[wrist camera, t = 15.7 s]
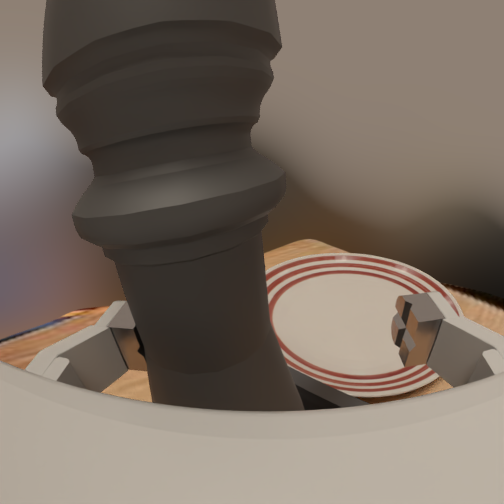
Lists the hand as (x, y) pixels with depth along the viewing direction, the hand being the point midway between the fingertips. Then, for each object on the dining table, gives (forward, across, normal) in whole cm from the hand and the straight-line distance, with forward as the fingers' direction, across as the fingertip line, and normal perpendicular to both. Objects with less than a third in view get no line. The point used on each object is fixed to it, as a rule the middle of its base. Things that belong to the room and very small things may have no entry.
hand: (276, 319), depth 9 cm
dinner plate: (+20, -9, +16) cm, 27 cm away
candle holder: (-1, +2, +14) cm, 15 cm away
